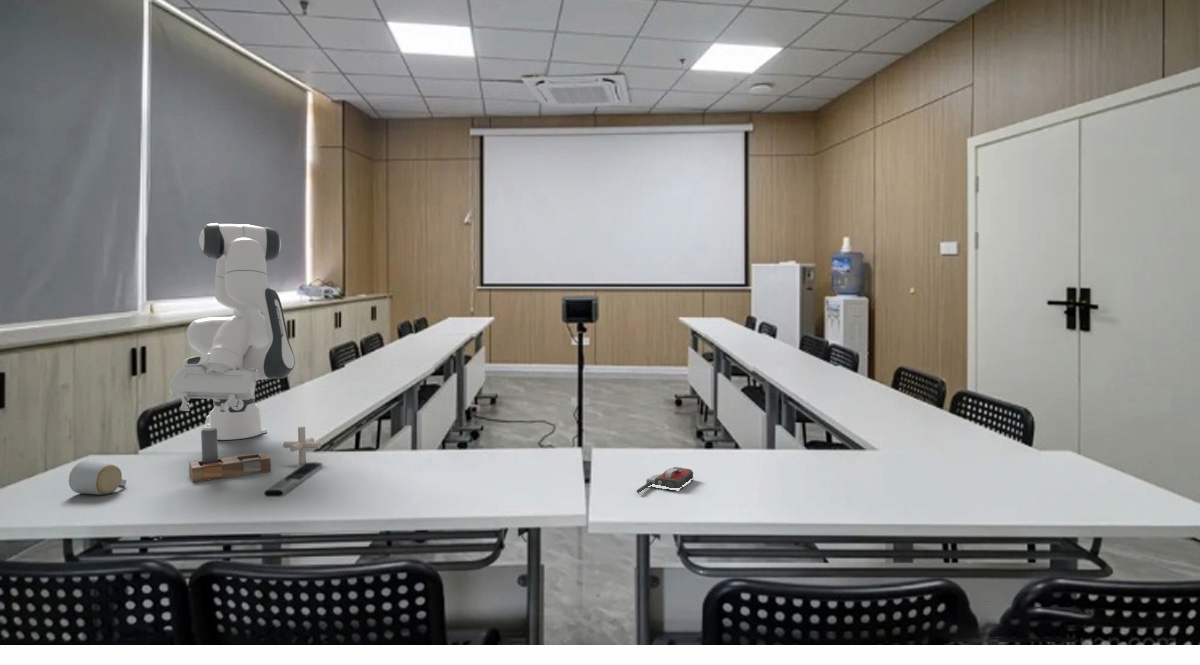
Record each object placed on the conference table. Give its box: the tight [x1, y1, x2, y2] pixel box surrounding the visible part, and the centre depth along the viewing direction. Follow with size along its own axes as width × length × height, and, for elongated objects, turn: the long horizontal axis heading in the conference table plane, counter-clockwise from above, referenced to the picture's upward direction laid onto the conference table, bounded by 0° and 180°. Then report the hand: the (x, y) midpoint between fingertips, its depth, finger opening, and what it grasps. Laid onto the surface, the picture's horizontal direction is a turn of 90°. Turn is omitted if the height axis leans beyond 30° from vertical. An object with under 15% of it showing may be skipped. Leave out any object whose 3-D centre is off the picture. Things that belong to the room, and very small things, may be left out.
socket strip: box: [188, 451, 272, 482], centre depth 184 cm, size 8×18×4 cm, turn 125°
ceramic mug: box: [68, 459, 127, 496], centre depth 168 cm, size 11×8×8 cm
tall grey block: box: [200, 426, 219, 466], centre depth 181 cm, size 4×4×13 cm
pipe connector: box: [282, 425, 322, 464], centre depth 195 cm, size 10×10×10 cm
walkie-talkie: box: [636, 466, 694, 493], centre depth 173 cm, size 9×4×20 cm
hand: (203, 410), depth 180 cm, fingers open, 8 cm apart
